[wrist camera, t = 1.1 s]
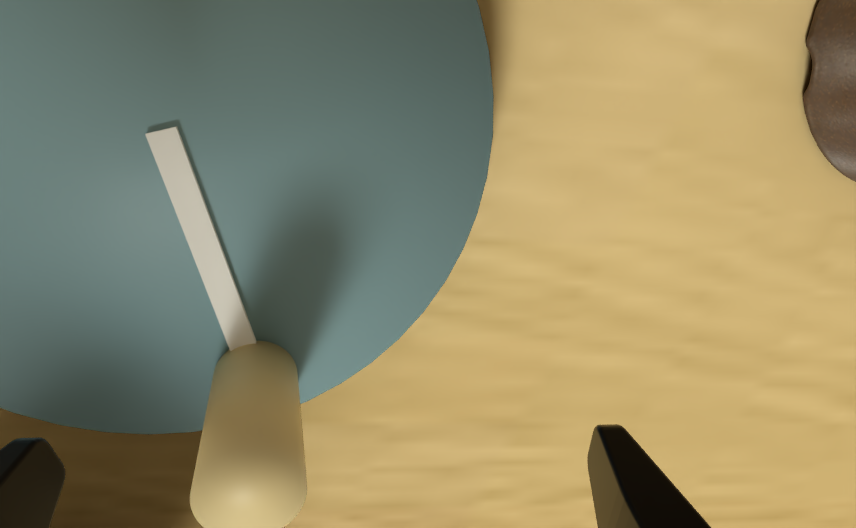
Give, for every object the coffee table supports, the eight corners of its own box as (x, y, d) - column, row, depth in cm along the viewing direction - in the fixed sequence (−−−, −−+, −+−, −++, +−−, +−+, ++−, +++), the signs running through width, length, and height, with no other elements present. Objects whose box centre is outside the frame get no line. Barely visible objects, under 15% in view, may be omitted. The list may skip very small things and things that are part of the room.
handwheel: (-491, -232, 11) (-1381, -585, 5) (409, -336, 14) (510, -634, 8) (-22, 490, 18) (-169, 702, 12) (520, 315, 21) (619, 414, 15)
